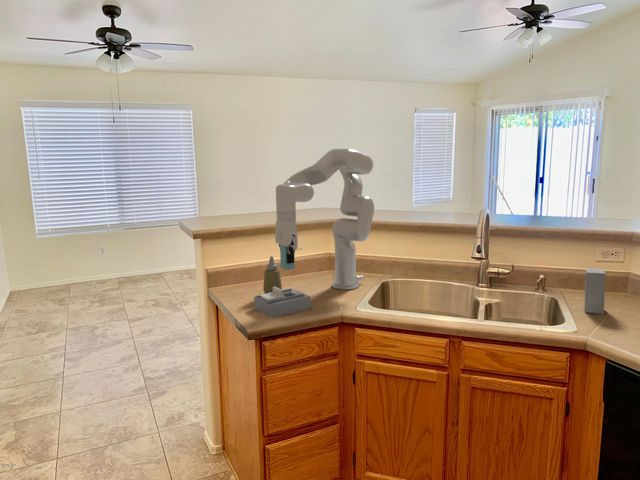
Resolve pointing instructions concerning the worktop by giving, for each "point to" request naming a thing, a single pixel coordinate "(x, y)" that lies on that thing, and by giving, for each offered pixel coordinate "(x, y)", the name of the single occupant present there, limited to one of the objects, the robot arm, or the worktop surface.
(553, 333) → the worktop surface
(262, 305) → the grey flat box
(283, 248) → the teal rectangular bottle
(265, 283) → the squeeze bottle
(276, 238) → the robot arm
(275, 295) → the shutter
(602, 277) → the skincare box
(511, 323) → the worktop surface
